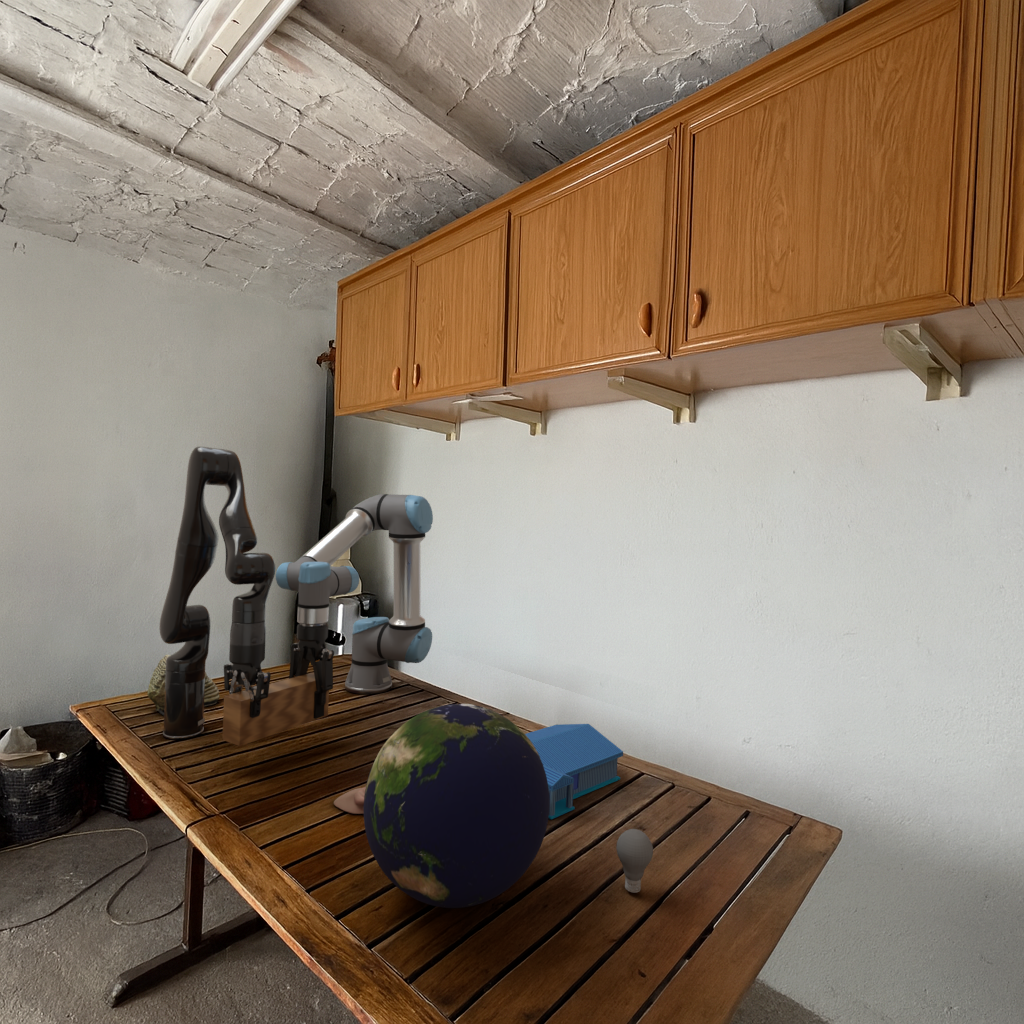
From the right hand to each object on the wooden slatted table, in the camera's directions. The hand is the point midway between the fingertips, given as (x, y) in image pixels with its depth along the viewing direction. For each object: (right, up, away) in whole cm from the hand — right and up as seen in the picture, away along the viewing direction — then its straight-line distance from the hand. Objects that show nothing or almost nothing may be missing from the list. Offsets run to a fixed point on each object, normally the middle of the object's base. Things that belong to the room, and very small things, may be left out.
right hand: (309, 713), depth 160 cm
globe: (+42, -11, -57) cm, 72 cm away
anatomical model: (+21, -10, -28) cm, 37 cm away
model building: (+56, -11, -18) cm, 60 cm away
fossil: (-45, -6, +25) cm, 51 cm away
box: (-5, -1, -8) cm, 9 cm away
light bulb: (+72, -12, -55) cm, 91 cm away
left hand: (-10, +5, -16) cm, 19 cm away
